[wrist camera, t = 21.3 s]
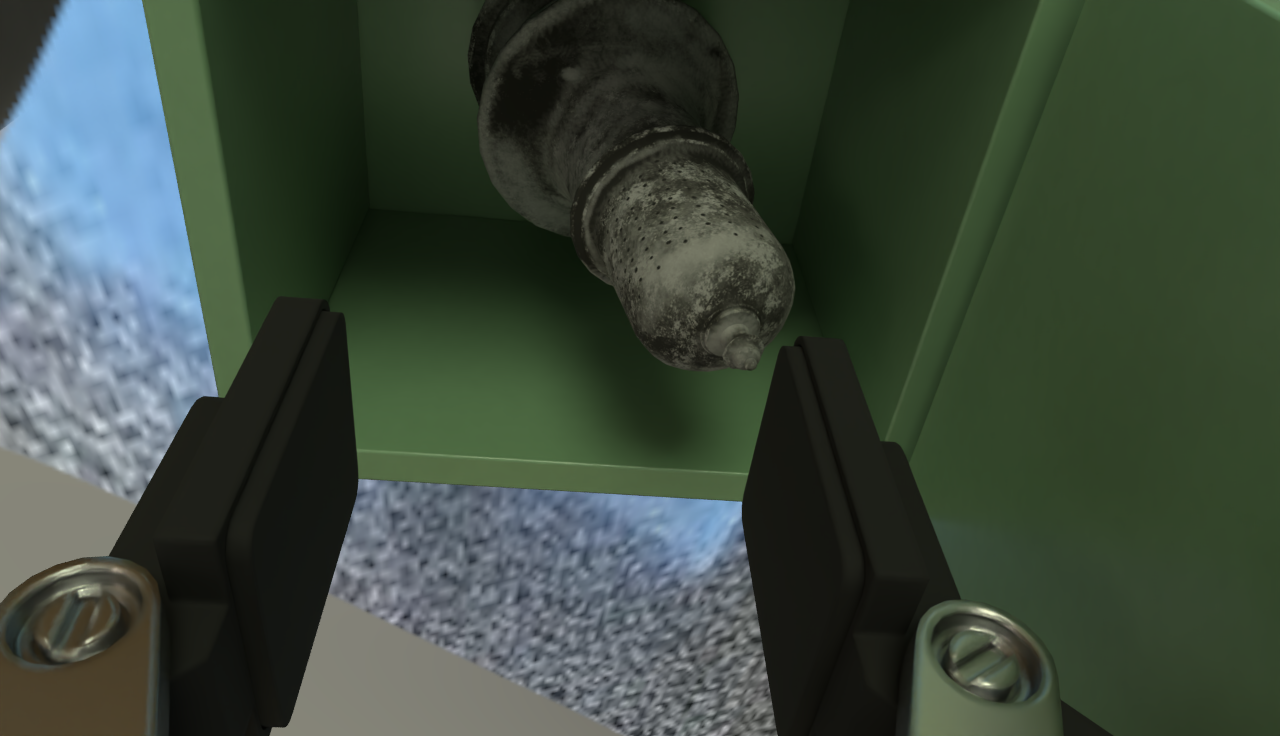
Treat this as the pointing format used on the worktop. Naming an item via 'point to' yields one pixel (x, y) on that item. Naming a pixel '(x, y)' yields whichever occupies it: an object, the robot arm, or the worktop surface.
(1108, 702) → the bin lid
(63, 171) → the worktop surface
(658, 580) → the worktop surface
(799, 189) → the waste bin
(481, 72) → the dark grey rounded piece
